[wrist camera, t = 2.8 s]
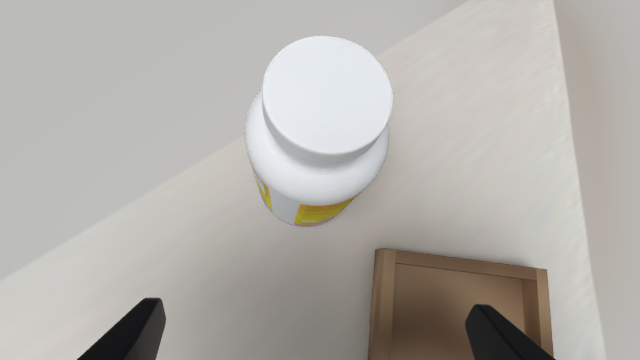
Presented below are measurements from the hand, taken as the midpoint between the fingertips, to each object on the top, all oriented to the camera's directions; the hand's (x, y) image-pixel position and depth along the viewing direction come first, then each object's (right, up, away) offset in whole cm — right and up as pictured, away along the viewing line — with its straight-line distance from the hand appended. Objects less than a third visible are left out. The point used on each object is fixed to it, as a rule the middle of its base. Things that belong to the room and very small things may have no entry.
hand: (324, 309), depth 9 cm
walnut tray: (+9, -8, +12) cm, 17 cm away
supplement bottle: (-1, +3, +14) cm, 15 cm away
